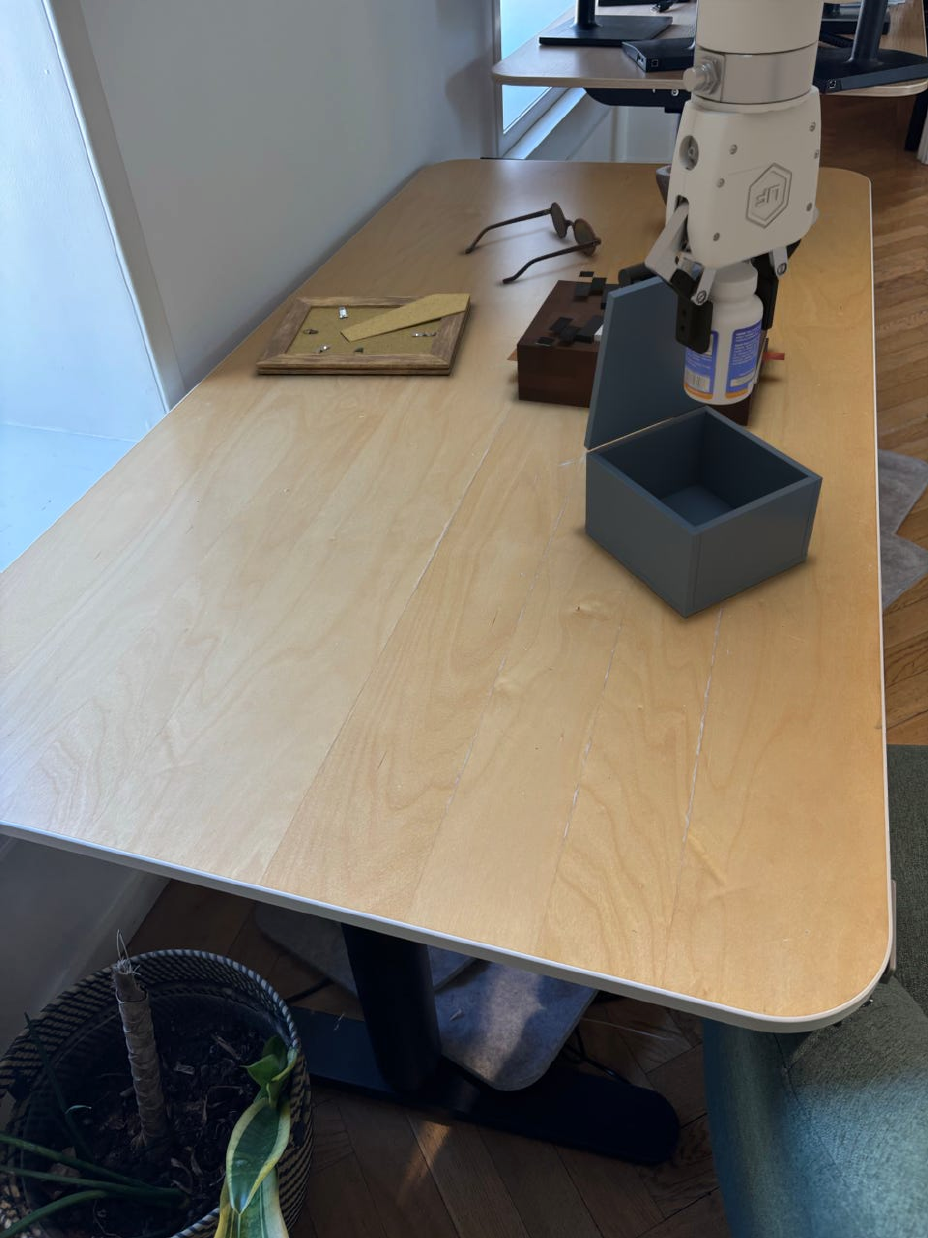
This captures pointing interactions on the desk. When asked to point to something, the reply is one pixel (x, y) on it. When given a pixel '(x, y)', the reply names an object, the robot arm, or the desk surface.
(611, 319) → the lid
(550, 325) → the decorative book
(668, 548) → the grey open box
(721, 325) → the pill bottle
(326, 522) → the desk surface
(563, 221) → the eyeglasses
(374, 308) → the picture frame
